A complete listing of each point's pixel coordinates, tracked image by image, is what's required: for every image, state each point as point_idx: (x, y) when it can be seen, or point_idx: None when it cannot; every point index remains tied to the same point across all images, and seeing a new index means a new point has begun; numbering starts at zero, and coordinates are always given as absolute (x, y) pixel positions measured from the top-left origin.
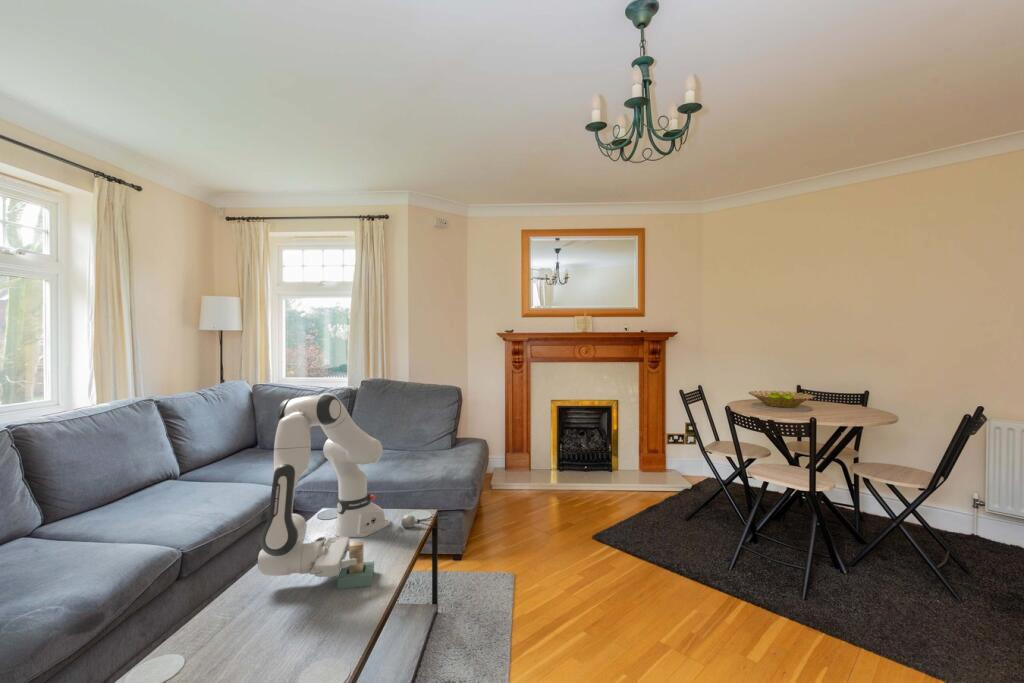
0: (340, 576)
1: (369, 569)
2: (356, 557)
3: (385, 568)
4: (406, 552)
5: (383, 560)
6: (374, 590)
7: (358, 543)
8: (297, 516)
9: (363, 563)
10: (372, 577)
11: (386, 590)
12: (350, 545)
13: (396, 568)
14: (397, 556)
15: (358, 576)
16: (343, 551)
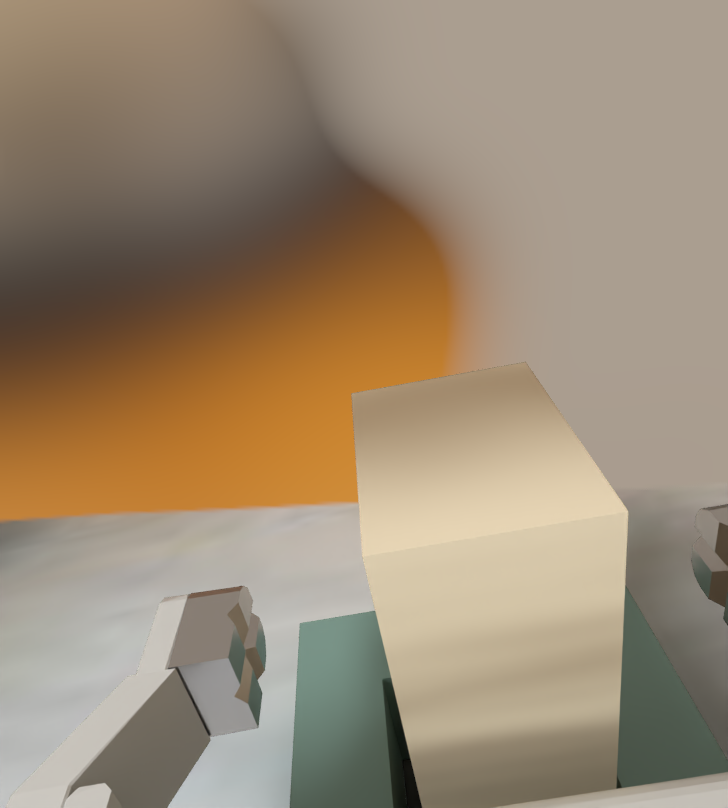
0: None
1: None
2: (709, 509)
3: (282, 618)
4: (69, 545)
5: (114, 673)
6: (681, 601)
7: (461, 413)
8: None
9: (328, 728)
10: None
11: (649, 524)
12: (584, 498)
13: (304, 545)
14: (100, 584)
15: (685, 691)
16: (645, 786)
